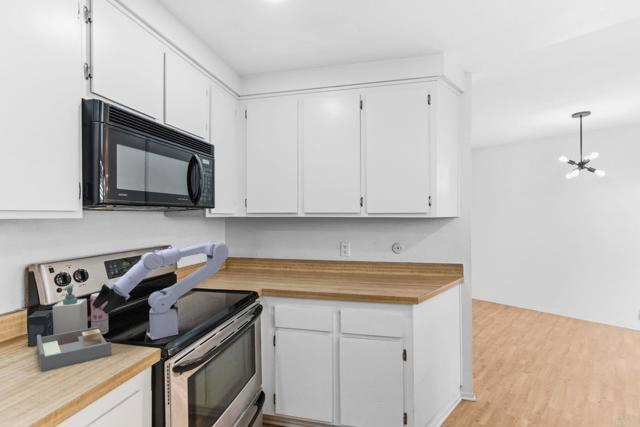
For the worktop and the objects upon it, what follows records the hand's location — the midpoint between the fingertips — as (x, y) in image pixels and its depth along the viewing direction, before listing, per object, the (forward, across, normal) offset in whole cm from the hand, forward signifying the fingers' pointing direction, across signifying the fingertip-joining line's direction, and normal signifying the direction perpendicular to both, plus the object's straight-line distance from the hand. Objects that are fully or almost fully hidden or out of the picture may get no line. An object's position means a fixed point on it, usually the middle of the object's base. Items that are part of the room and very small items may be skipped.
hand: (99, 309), depth 130 cm
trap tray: (+14, -3, +3) cm, 15 cm away
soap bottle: (+15, -18, -9) cm, 25 cm away
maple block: (+9, -5, +5) cm, 11 cm away
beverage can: (+8, -20, -3) cm, 21 cm away
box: (+21, -13, -13) cm, 28 cm away
